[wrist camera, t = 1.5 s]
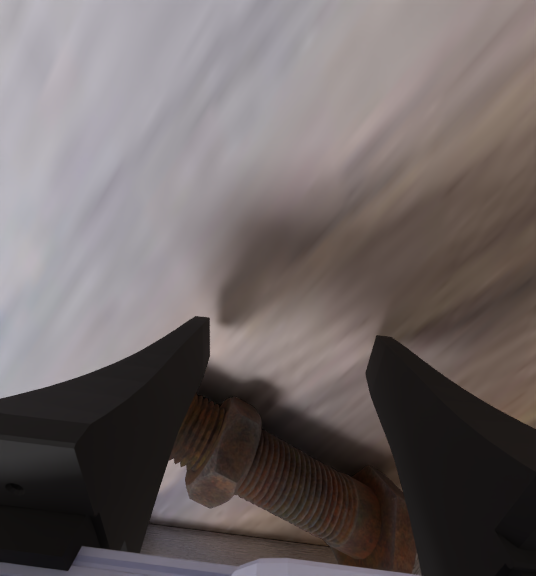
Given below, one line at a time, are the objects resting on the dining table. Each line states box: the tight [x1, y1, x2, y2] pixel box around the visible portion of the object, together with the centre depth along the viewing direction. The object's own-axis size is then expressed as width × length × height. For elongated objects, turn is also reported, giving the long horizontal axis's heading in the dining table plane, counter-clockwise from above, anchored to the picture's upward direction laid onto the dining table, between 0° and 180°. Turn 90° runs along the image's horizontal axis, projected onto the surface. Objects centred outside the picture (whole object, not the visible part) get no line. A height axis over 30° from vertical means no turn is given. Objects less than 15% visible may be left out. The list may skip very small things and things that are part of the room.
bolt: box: [169, 392, 417, 574], centre depth 14 cm, size 6×5×15 cm
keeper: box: [140, 524, 422, 576], centre depth 18 cm, size 12×23×4 cm, turn 85°
